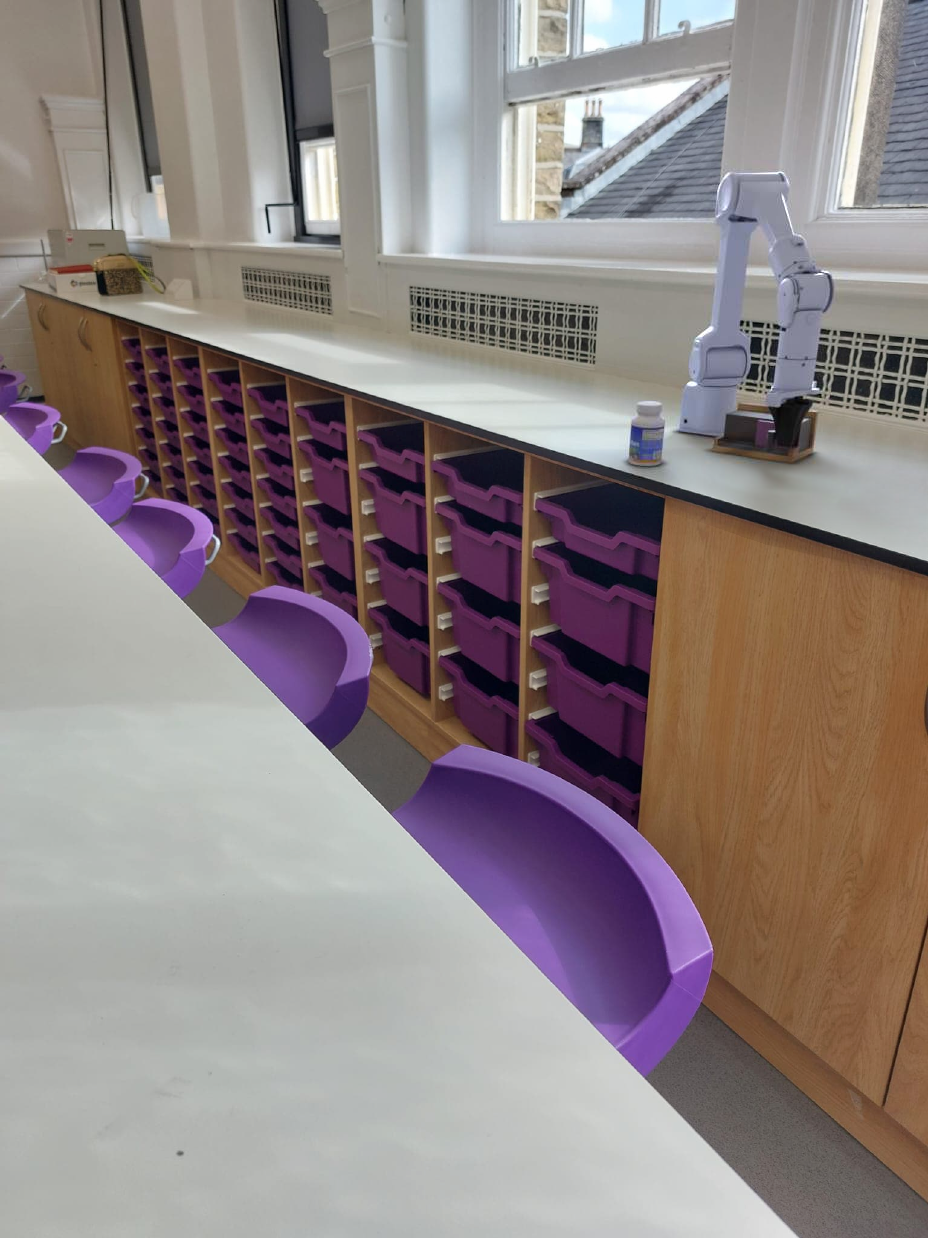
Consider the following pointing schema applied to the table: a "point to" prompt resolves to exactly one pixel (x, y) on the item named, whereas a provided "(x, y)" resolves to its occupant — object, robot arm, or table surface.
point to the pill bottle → (647, 434)
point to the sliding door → (767, 436)
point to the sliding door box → (744, 430)
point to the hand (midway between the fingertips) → (784, 445)
